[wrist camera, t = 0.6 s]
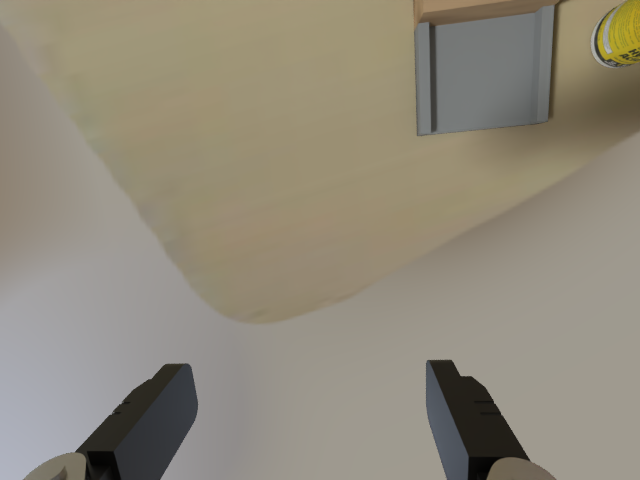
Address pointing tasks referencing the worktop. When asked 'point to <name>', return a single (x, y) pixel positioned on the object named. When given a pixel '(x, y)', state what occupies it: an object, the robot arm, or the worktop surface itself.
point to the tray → (483, 73)
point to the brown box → (472, 10)
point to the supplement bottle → (618, 36)
